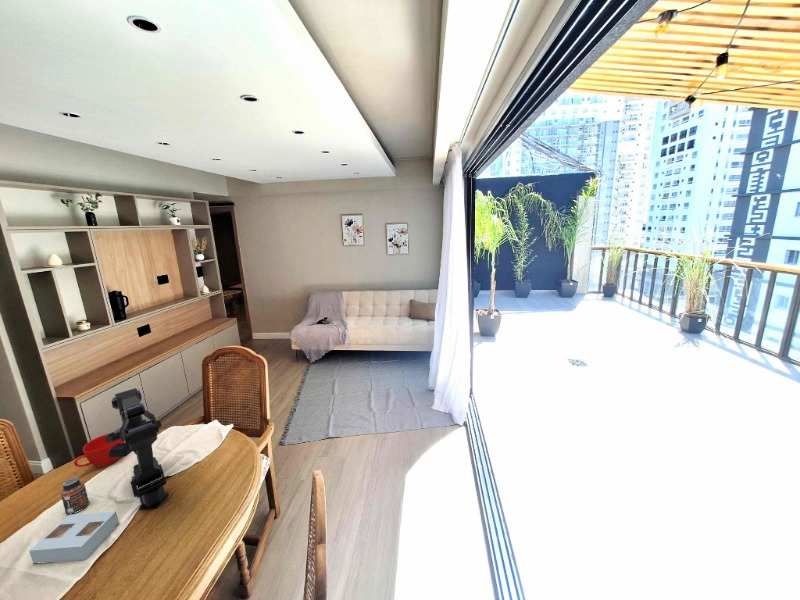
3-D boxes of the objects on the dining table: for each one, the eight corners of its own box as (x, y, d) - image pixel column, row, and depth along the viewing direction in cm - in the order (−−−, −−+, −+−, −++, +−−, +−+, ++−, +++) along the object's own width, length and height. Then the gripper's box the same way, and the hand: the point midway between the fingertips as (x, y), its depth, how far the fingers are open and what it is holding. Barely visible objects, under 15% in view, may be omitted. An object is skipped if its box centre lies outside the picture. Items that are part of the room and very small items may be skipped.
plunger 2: (105, 532, 99) (102, 521, 98) (93, 544, 95) (90, 533, 94) (92, 533, 99) (89, 522, 98) (80, 545, 95) (77, 534, 94)
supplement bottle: (74, 516, 107) (66, 489, 104) (61, 513, 108) (53, 487, 106) (93, 502, 112) (86, 476, 110) (81, 500, 114) (74, 474, 111)
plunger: (76, 534, 99) (73, 523, 98) (63, 546, 95) (60, 535, 94) (63, 535, 99) (60, 524, 98) (50, 547, 95) (46, 536, 94)
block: (119, 523, 103) (116, 511, 102) (85, 559, 92) (81, 546, 91) (73, 527, 103) (69, 514, 102) (33, 564, 91) (28, 550, 90)
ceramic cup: (68, 475, 126) (62, 454, 124) (116, 449, 142) (111, 430, 140) (88, 482, 122) (82, 460, 120) (135, 453, 138) (130, 434, 136)
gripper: (130, 409, 124) (138, 442, 127) (87, 438, 106) (97, 476, 109) (158, 407, 125) (165, 440, 128) (120, 436, 106) (129, 474, 109)
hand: (141, 456), depth 118 cm, fingers closed
